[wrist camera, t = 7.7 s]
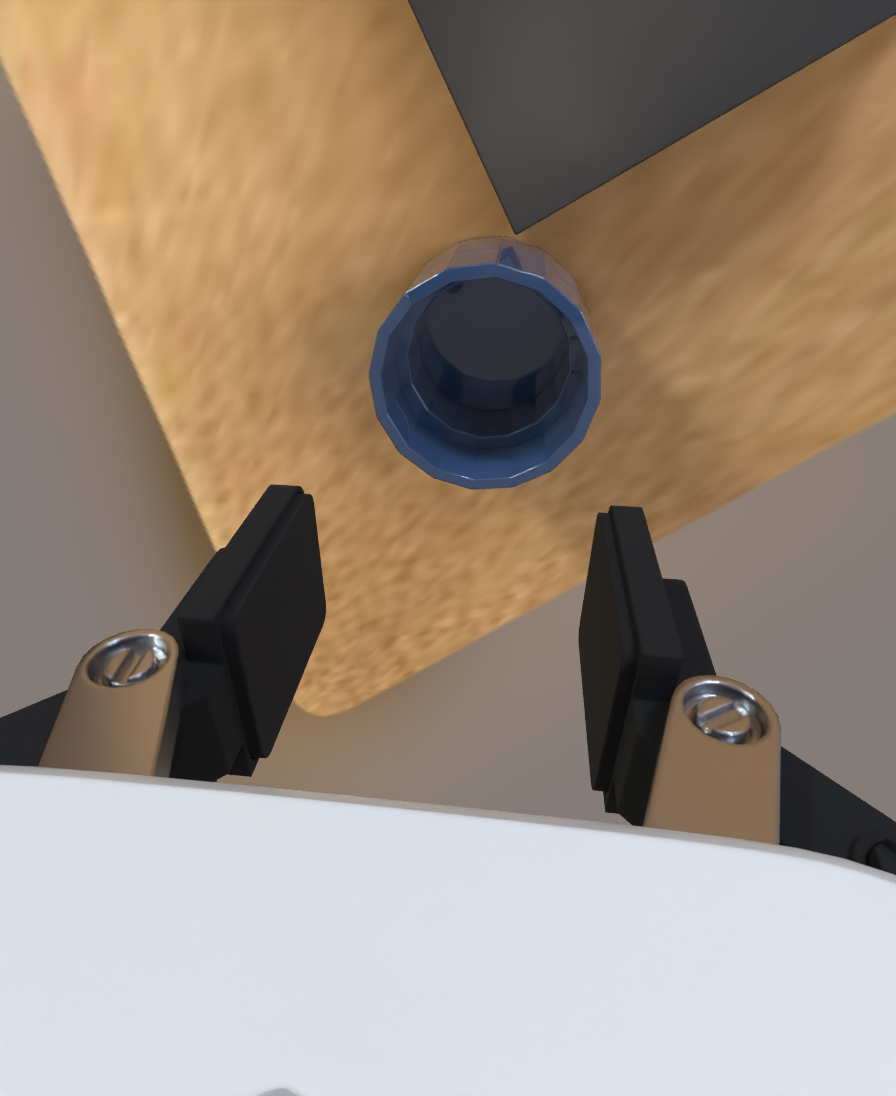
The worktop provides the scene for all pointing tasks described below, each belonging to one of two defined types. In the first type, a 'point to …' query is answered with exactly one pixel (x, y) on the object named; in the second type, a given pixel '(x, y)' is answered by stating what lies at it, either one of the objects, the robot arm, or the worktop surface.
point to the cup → (487, 365)
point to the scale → (613, 78)
